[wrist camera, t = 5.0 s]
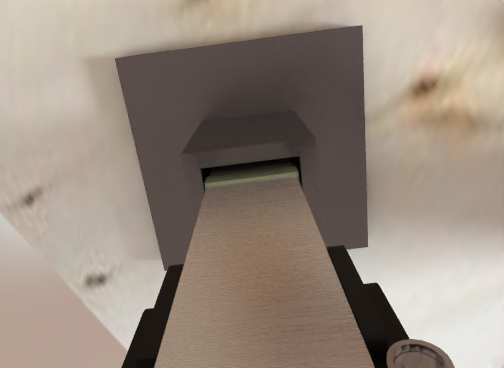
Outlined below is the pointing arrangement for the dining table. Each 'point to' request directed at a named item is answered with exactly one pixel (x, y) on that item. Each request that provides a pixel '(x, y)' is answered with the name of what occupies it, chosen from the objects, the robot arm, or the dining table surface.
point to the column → (259, 281)
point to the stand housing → (251, 126)
